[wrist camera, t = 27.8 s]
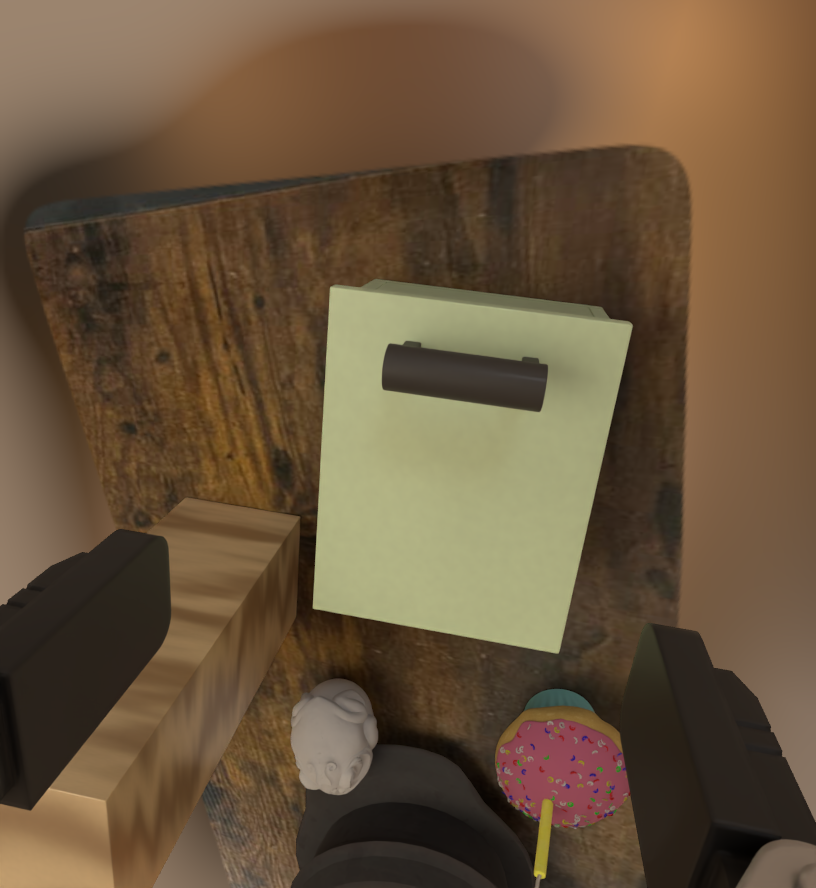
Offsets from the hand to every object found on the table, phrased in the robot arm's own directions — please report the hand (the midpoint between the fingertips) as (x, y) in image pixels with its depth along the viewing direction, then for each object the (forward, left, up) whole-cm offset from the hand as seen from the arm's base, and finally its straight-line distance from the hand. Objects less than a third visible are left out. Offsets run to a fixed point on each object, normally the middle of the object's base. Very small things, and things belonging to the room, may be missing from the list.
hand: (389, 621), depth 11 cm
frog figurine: (+28, -6, -28) cm, 40 cm away
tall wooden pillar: (+18, -14, -28) cm, 36 cm away
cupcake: (+26, +9, -28) cm, 40 cm away
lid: (+6, 0, -19) cm, 20 cm away
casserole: (+42, +1, -28) cm, 51 cm away
